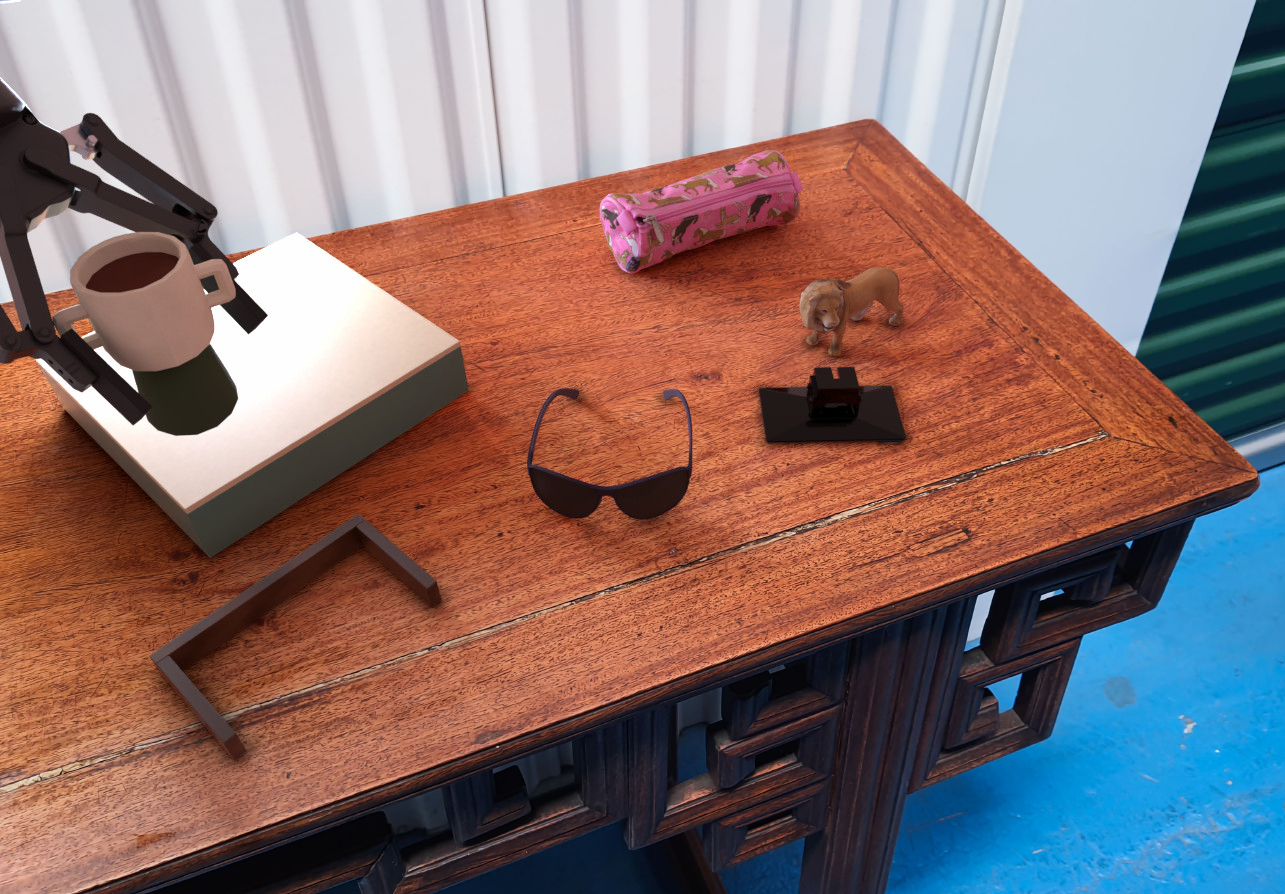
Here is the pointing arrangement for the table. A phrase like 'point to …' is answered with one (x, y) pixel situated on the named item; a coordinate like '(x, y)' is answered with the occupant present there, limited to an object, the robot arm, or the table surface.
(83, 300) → the character mug
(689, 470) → the sunglasses
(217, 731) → the dark brown u-shaped bracket
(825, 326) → the lion figurine
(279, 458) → the cream square platform
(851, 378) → the build plate
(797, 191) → the pencil case
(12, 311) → the table surface
